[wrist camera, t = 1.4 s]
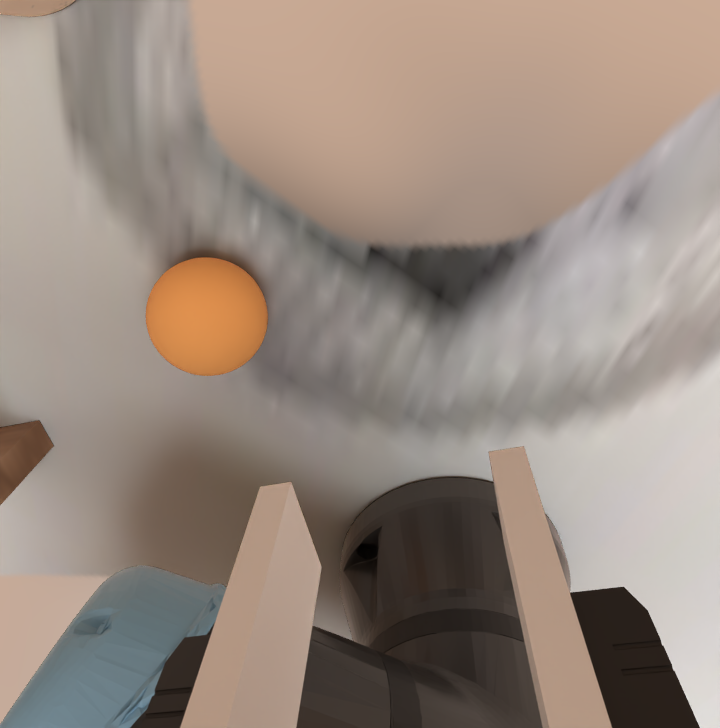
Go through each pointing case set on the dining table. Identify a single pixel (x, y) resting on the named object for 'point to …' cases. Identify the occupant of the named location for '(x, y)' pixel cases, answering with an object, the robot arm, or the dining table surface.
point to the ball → (206, 316)
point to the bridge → (20, 453)
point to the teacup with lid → (32, 7)
